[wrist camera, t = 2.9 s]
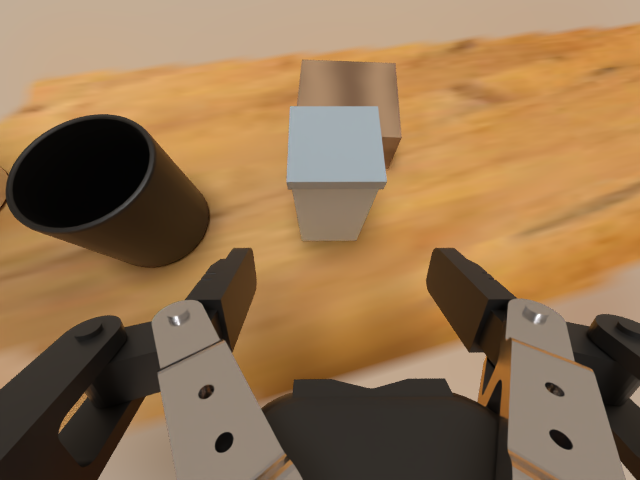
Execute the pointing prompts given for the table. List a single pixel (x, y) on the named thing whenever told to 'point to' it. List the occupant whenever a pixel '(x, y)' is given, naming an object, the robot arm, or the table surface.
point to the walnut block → (355, 92)
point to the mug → (107, 192)
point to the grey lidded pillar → (334, 168)
